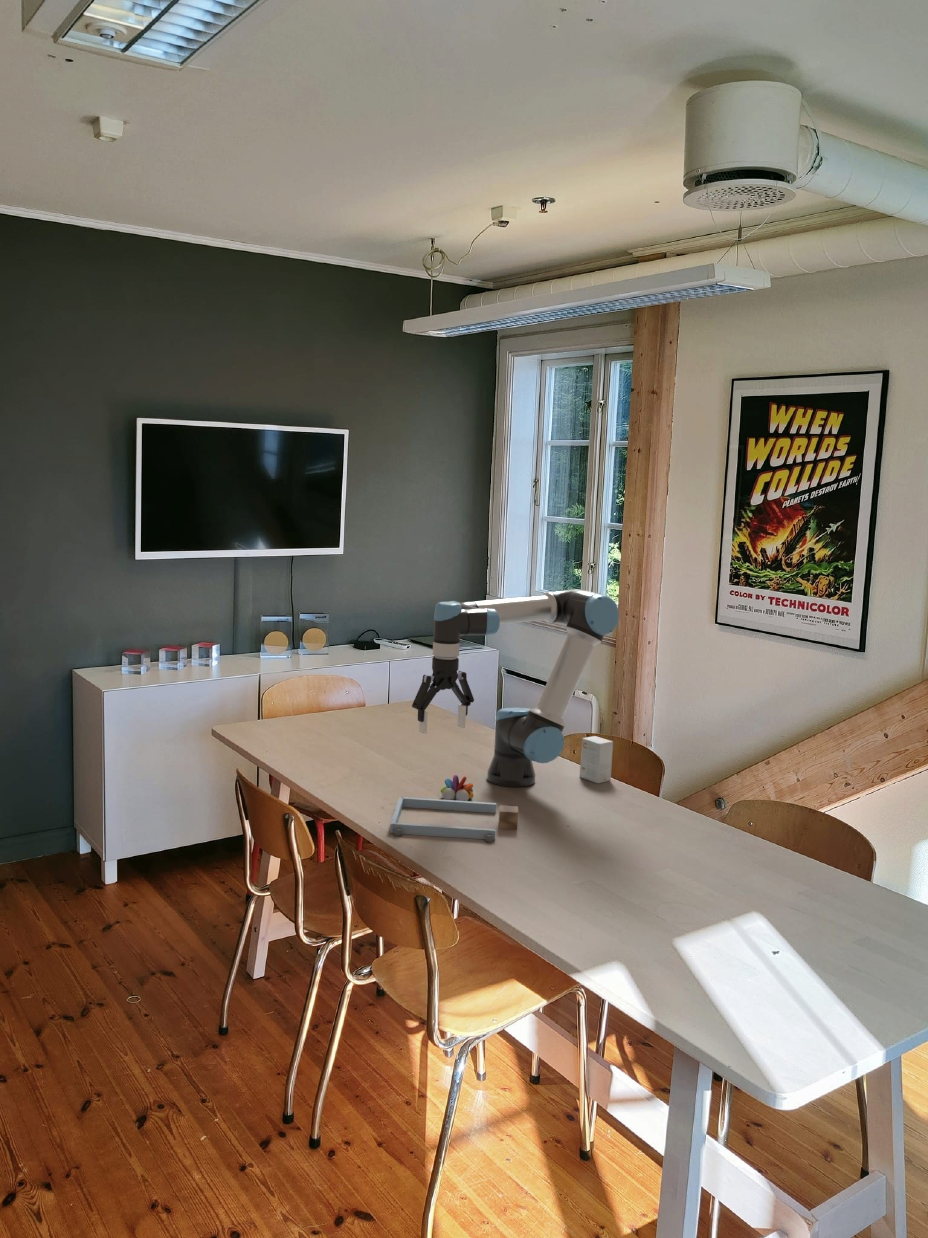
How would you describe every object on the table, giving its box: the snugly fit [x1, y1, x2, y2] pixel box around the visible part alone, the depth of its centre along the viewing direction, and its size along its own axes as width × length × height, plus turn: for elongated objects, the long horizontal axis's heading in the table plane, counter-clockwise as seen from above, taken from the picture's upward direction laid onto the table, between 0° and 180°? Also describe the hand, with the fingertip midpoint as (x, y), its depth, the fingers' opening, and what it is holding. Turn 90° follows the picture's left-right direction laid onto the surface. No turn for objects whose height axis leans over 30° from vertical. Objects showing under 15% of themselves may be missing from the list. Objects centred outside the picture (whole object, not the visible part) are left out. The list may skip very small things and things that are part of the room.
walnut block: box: [498, 805, 519, 831], centre depth 276 cm, size 5×5×5 cm
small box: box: [579, 735, 614, 784], centre depth 323 cm, size 8×6×13 cm
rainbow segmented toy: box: [440, 774, 475, 801], centre depth 297 cm, size 8×10×7 cm
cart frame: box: [389, 796, 497, 844], centre depth 277 cm, size 28×27×2 cm
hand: (442, 729), depth 289 cm, fingers open, 13 cm apart
